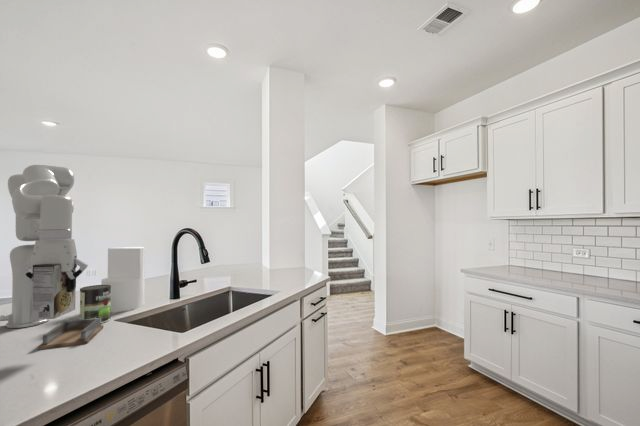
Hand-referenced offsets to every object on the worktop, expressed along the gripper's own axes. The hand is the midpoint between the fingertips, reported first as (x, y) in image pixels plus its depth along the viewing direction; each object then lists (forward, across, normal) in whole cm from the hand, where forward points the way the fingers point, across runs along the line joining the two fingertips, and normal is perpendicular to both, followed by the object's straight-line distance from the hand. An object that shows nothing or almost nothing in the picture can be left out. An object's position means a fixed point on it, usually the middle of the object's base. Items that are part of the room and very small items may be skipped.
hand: (54, 292), depth 93 cm
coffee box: (+7, 0, 0) cm, 7 cm away
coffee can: (+20, +2, +31) cm, 37 cm away
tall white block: (+20, +6, +52) cm, 56 cm away
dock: (+19, 0, +13) cm, 23 cm away
